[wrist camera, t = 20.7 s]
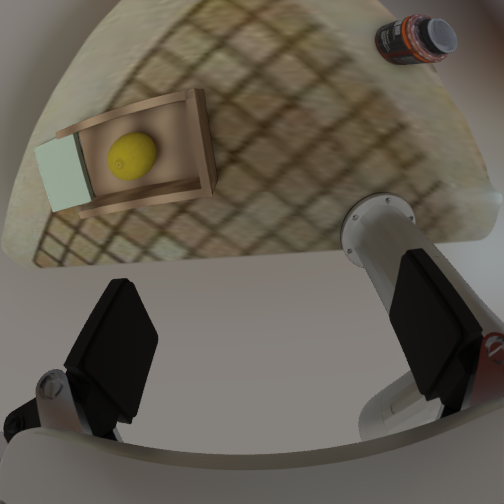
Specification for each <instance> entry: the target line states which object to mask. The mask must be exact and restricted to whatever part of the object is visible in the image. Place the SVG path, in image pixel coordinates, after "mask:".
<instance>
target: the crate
mask: <svg viewBox="0 0 504 504" xmlns="http://www.w3.org/2000/svg"><path fill="white" fill-rule="evenodd" d="M77 132H79V135H80V140H81V144H82V148H83V152H84V156H85V160H86V164H87V168H88V171H89V175H90V178H91V182H92V185H93V188H94V192H95V195H96V197H95V198H94V199H93V200H92V201H90V202H89V203H88V204H87V205H86V206H85V207H84V208H82V209H81V210H80V211H79V215H80V217H81V219H83V218H87V217H92V216H97V215H102V214H107V213H112V212H117V211H122V210H128V209H133V208H139V207H144V206H150V205H156V204H162V203H168V202H175V201H181V200H188V199H195V198H202V197H210V196H212V195H213V192H214V189H215V187H216V184H217V181H218V177H217V171H216V165H215V159H214V153H213V147H212V141H211V134H210V128H209V122H208V115H207V109H206V102H205V95H204V89H189V90H184V91H180V92H175V93H171V94H167V95H162V96H159V97H155V98H151V99H147V100H144V101H140V102H137V103H133V104H130V105H127V106H123V107H120V108H117V109H114V110H111V111H108V112H105V113H103V114H100V115H97V116H94V117H92V118H89V119H86V120H84V121H81V122H79V123H76V124H74V125H72V126H69V127H67V128H65V129H62V130H60V131H58V132H56V136H57V140H58V139H61V138H63V137H66V136H69V135H71V134H74V133H77ZM131 132H141V133H144V134H146V135H148V136H149V137H150V138H152V140H153V141H154V143H155V145H156V149H157V157H156V161H155V164H154V165H153V167H152V168H151V170H150V171H149V172H148V173H147V174H146V175H144V176H142V177H140V178H138V179H135V180H130V181H127V180H121V179H118V178H117V177H115V176H114V175H113V174H112V173H111V171H110V169H109V167H108V164H107V156H108V152H109V150H110V147H111V146H112V145H113V143H114V142H115V141H116V140H117V139H118V138H120V137H121V136H122V135H125V134H127V133H131Z"/></svg>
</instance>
